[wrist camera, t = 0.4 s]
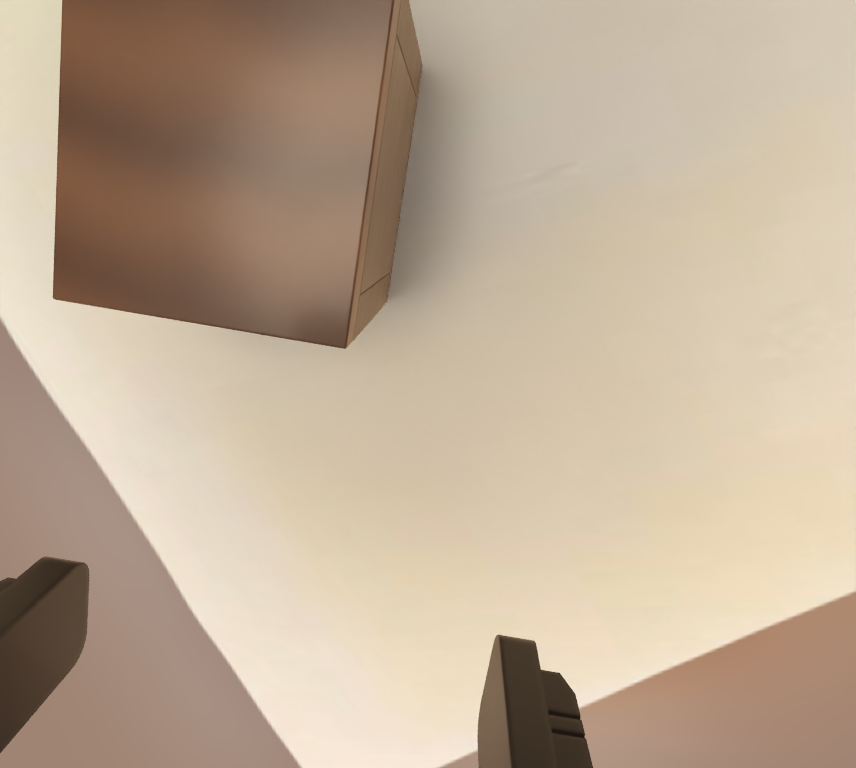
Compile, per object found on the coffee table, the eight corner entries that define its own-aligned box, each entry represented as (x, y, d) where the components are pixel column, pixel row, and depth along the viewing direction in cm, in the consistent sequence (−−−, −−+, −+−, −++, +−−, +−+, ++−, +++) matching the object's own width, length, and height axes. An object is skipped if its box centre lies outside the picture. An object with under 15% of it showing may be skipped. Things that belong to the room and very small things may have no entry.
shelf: (221, 30, 36) (64, -99, 22) (422, 64, 36) (400, -42, 22) (201, 270, 39) (51, 299, 25) (386, 302, 39) (346, 349, 25)
